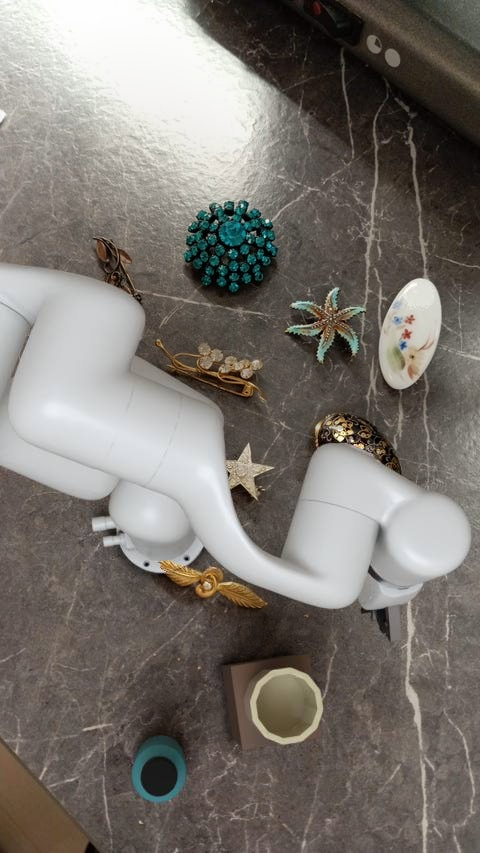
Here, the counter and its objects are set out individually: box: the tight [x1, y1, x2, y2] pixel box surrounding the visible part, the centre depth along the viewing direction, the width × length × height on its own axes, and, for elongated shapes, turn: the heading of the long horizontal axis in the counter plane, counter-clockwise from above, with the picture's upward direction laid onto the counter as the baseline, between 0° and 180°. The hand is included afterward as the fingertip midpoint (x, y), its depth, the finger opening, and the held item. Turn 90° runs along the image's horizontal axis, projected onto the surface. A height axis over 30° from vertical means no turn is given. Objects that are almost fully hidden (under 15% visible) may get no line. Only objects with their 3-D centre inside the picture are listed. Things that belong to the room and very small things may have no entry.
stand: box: [221, 653, 324, 751], centre depth 110 cm, size 9×9×21 cm
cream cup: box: [243, 667, 324, 745], centre depth 95 cm, size 7×7×10 cm
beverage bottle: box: [131, 734, 188, 803], centre depth 108 cm, size 6×7×20 cm
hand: (365, 567), depth 104 cm, fingers open, 9 cm apart
